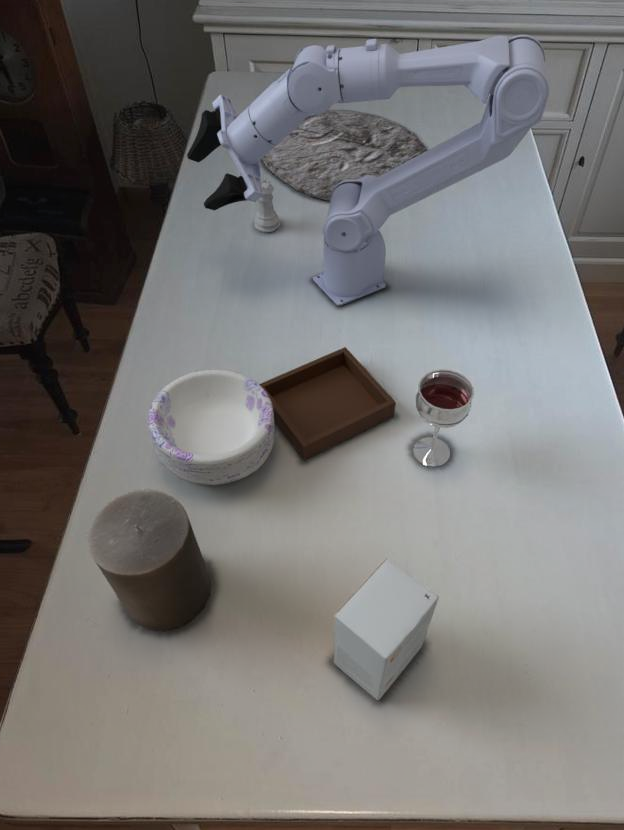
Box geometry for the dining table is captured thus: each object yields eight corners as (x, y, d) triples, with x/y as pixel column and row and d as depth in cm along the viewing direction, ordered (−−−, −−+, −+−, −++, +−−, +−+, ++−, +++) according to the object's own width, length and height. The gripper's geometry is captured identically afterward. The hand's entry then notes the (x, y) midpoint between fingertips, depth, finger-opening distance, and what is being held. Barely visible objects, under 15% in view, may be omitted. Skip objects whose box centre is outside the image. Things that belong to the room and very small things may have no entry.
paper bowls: (300, 453, 83) (298, 413, 77) (208, 520, 77) (197, 483, 70) (228, 391, 89) (221, 349, 83) (137, 448, 83) (121, 408, 76)
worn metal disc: (320, 95, 141) (320, 93, 140) (455, 146, 130) (455, 144, 129) (219, 156, 125) (218, 154, 124) (363, 220, 114) (363, 218, 114)
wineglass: (397, 440, 85) (407, 377, 75) (442, 426, 87) (457, 363, 77) (420, 478, 82) (434, 417, 72) (466, 462, 83) (485, 401, 73)
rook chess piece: (276, 235, 111) (273, 192, 104) (251, 231, 111) (247, 188, 104) (282, 221, 113) (280, 178, 107) (258, 217, 114) (254, 174, 107)
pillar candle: (217, 618, 70) (195, 554, 57) (127, 642, 68) (84, 580, 56) (203, 544, 75) (180, 471, 63) (120, 564, 73) (78, 492, 61)
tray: (344, 361, 93) (345, 346, 91) (394, 416, 88) (396, 402, 85) (258, 400, 88) (256, 385, 86) (304, 460, 83) (303, 446, 80)
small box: (378, 610, 71) (387, 555, 60) (423, 645, 69) (441, 595, 58) (331, 663, 67) (332, 615, 57) (377, 703, 65) (387, 660, 54)
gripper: (225, 63, 81) (163, 128, 89) (262, 166, 80) (196, 223, 88) (262, 83, 87) (200, 143, 94) (296, 180, 86) (231, 232, 94)
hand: (200, 182), depth 92 cm, fingers open, 7 cm apart
